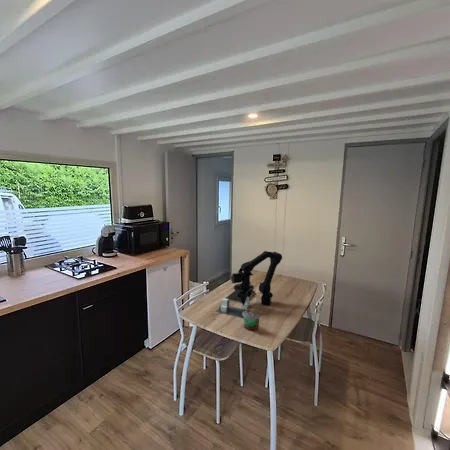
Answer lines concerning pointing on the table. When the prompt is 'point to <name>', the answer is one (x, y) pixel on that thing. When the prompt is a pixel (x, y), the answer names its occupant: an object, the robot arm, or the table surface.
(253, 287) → the robot arm
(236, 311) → the rail
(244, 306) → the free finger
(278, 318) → the table surface
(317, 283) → the table surface
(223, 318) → the table surface
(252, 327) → the food container
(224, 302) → the block
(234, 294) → the hardcover book
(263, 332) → the table surface
